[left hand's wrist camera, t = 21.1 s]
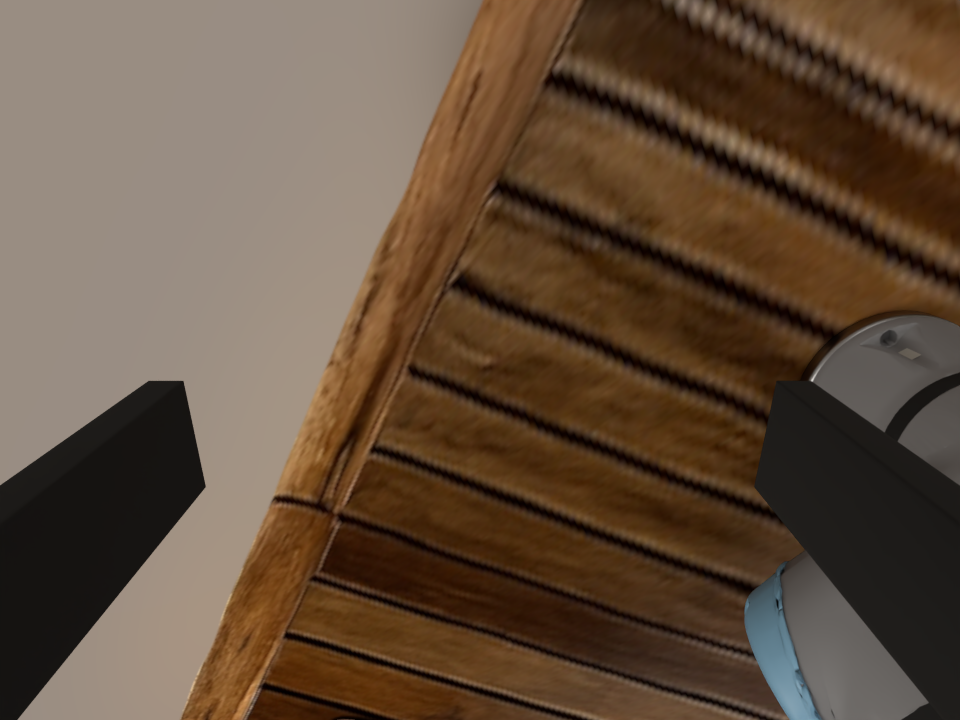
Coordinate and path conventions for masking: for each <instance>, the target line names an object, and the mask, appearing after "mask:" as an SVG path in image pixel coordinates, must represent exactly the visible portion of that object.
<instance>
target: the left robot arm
mask: <svg viewBox="0 0 960 720" xmlns="http://www.w3.org/2000/svg"><path fill="white" fill-rule="evenodd" d="M205 487H206V486H205V481H204V476H203V472H202V467H201V462H200V457H199V453H198V448H197V443H196V439H195V434H194V429H193V424H192V419H191V415H190V410H189V405H188V401H187V396H186V391H185V386H184V382H183V381H148V382H147V383H145V384H144V385H142V386H141V387H139V388H138V389H137V390H135V391H134V392H132V393H131V394H130V395H128V396H127V397H125V398H124V399H122V400H121V401H120V402H118V403H117V404H115V405H114V406H112V407H111V408H110V409H108V410H107V411H105V412H104V413H103V414H101V415H100V416H98V417H97V418H95V419H94V420H93V421H91V422H90V423H88V424H87V425H85V426H84V427H83V428H81V429H80V430H78V431H77V432H75V433H74V434H73V435H71V436H70V437H68V438H67V439H66V440H64V441H63V442H61V443H60V444H58V445H57V446H56V447H54V448H53V449H51V450H50V451H48V452H47V453H46V454H44V455H43V456H41V457H40V458H39V459H37V460H36V461H34V462H33V463H31V464H30V465H29V466H27V467H26V468H24V469H23V470H22V471H20V472H19V473H17V474H16V475H14V476H13V477H11V478H10V479H9V480H7V481H6V482H4V483H3V484H2V485H0V720H17V719H18V718H19V717H20V716H21V714H22V713H23V712H24V711H25V710H26V708H27V707H28V706H29V705H30V703H31V702H32V701H33V700H34V698H35V697H36V696H37V695H38V694H39V692H40V691H41V690H42V689H43V687H44V686H45V685H46V684H47V682H48V681H49V680H50V679H51V677H52V676H53V675H54V674H55V673H56V671H57V670H58V669H59V668H60V666H61V665H62V664H63V663H64V661H65V660H66V659H67V658H68V656H69V655H70V654H71V653H72V652H73V650H74V649H75V648H76V647H77V645H78V644H79V643H80V642H81V640H82V639H83V638H84V637H85V635H86V634H87V633H88V632H89V631H90V629H91V628H92V627H93V626H94V624H95V623H96V622H97V621H98V619H99V618H100V617H101V616H102V614H103V613H104V612H105V611H106V609H107V608H108V607H109V606H110V605H111V603H112V602H113V601H114V600H115V598H116V597H117V596H118V595H119V593H120V592H121V591H122V590H123V588H124V587H125V586H126V585H127V584H128V582H129V581H130V580H131V579H132V577H133V576H134V575H135V574H136V572H137V571H138V570H139V569H140V567H141V566H142V565H143V564H144V563H145V561H146V560H147V559H148V558H149V556H150V555H151V554H152V553H153V551H154V550H155V549H156V548H157V546H158V545H159V544H160V543H161V542H162V540H163V539H164V538H165V537H166V535H167V534H168V533H169V532H170V530H171V529H172V528H173V527H174V525H175V524H176V523H177V522H178V520H179V519H180V518H181V517H182V516H183V514H184V513H185V512H186V511H187V509H188V508H189V507H190V506H191V504H192V503H193V502H194V501H195V500H196V498H197V497H198V496H199V495H200V493H201V492H202V491H203V490H204V488H205ZM754 487H755V488H756V490H757V491H758V492H759V493H760V495H761V496H762V497H763V498H764V500H765V501H766V502H767V503H768V504H769V506H770V507H771V508H772V509H773V511H774V512H775V513H776V514H777V516H778V517H779V518H780V519H781V521H782V522H783V523H784V524H785V525H786V527H787V528H788V529H789V530H790V532H791V533H792V534H793V535H794V537H795V538H796V539H797V540H798V542H799V543H800V544H801V545H802V546H803V548H804V549H805V551H803V552H802V553H800V554H799V555H798V556H796V557H795V558H793V559H792V560H791V561H788V562H783V563H782V564H781V565H780V566H779V567H778V568H777V570H776V573H775V574H773V575H772V576H771V577H770V578H768V579H767V580H766V581H765V582H764V583H762V584H761V585H760V586H759V587H757V588H756V589H755V590H754V591H753V592H752V593H751V594H750V595H749V597H748V599H747V601H746V605H745V611H744V612H745V627H746V631H747V635H748V639H749V642H750V645H751V648H752V650H753V653H754V655H755V658H756V660H757V662H758V664H759V666H760V668H761V670H762V673H763V675H764V677H765V678H766V680H767V682H768V684H769V686H770V688H771V690H772V691H773V693H774V695H775V697H776V698H777V700H778V702H779V703H780V705H781V707H782V708H783V710H784V712H785V713H786V715H787V716H788V718H789V719H790V720H960V327H959V326H958V325H956V324H954V323H952V322H950V321H947V320H944V319H942V318H939V317H936V316H933V315H930V314H927V313H923V312H916V311H894V312H888V313H883V314H879V315H875V316H872V317H869V318H866V319H864V320H862V321H859V322H857V323H855V324H853V325H852V326H850V327H848V328H846V329H845V330H843V331H842V332H840V333H839V334H837V335H836V336H835V337H833V338H832V339H831V340H830V341H829V342H828V343H826V344H825V345H824V346H823V347H822V348H821V350H820V351H819V352H818V353H817V354H816V355H815V356H814V358H813V359H812V360H811V362H810V363H809V365H808V366H807V368H806V370H805V371H804V373H803V375H802V378H801V380H800V381H777V382H776V386H775V391H774V396H773V401H772V405H771V410H770V415H769V419H768V424H767V429H766V434H765V438H764V443H763V448H762V453H761V457H760V462H759V467H758V472H757V476H756V481H755V486H754Z"/></svg>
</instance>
